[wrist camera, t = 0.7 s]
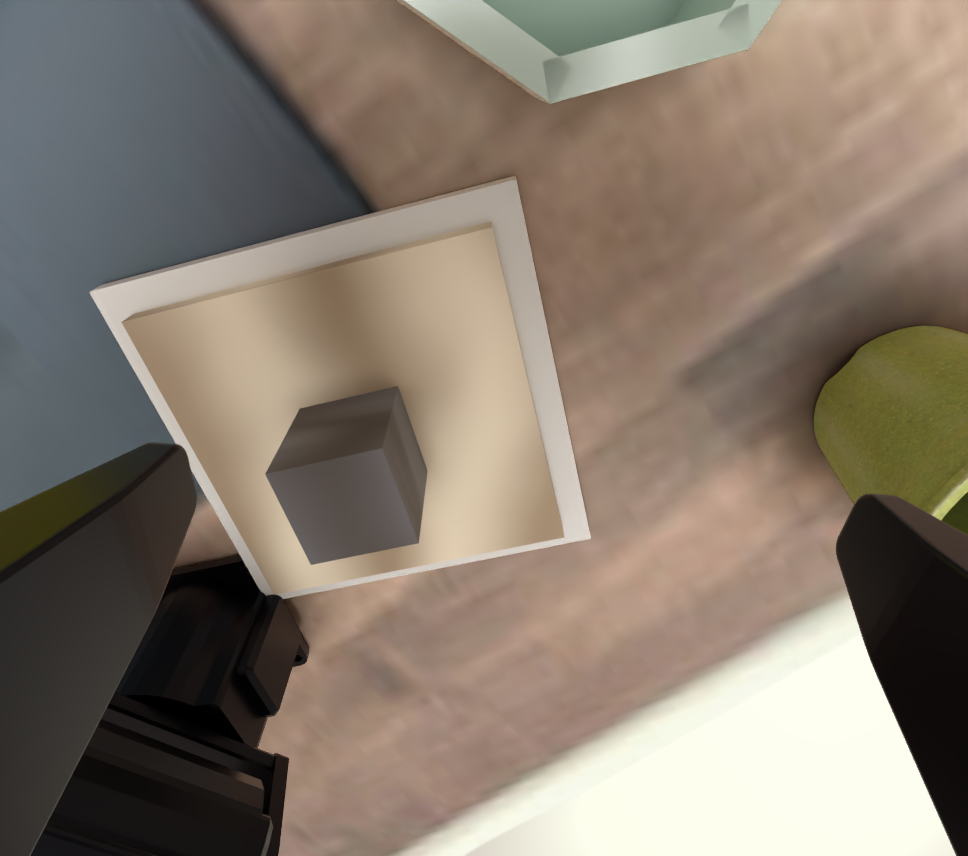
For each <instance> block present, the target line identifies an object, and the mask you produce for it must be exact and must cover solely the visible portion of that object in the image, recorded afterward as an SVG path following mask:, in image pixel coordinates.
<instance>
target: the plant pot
mask: <svg viewBox="0 0 968 856" xmlns="http://www.w3.org/2000/svg"><path fill="white" fill-rule="evenodd" d="M814 432H815V437H816V440H817V443H818V445H819V447H820V449H821V451H822V452H823V454H824V455H825V457H826V459H827V461H828V462H829V464H830V466H831V467H832V469H833V470H834V472H835V474H836V475H837V477H838V479H839V480H840V482H841V484H842V485H843V487H844V489H845V490H846V492H847V493H848V495H849V497H850V498H851V500H852V502H853V503H854V504H855V502H856V501H857V499H858V498H859V497H861V496H862V495H864V494H883V495H894V496H898V497H900V498H902V499H904V500H906V501H907V502H909V503H911V504H913V505H914V506H916V507H918V508H920V509H922V510H923V511H925V512H927V513H929V514H930V515H932V516H934V517H936V518H938V519H939V520H941V521H943V522H945V523H946V524H948V525H950V526H952V527H954V528H955V529H957V530H959V531H961V532H963V533H964V534H966V535H968V334H966V333H963V332H960V331H956V330H953V329H949V328H944V327H940V326H914V327H907V328H903V329H899V330H896V331H892V332H889V333H887V334H885V335H882V336H880V337H878V338H876V339H874V340H872V341H870V342H868V343H866V344H865V345H863V346H862V347H860V348H859V349H858V350H857V352H856V353H855V354H854V356H853V357H852V358H851V360H850V361H849V362H848V363H847V364H846V365H845V366H844V367H843V368H842V369H841V370H840V371H839V372H838V373H837V374H836V375H834V376H833V377H832V378H831V379H829V380H828V381H827V382H826V383H825V385H824V387H823V389H822V391H821V393H820V395H819V397H818V400H817V403H816V407H815V412H814Z"/></svg>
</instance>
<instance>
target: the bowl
mask: <svg viewBox="0 0 968 856" xmlns="http://www.w3.org/2000/svg"><path fill="white" fill-rule="evenodd" d="M396 1H397V2H398V3H400V4H402V5H404V6H405V7H406V8H408V9H409V10H411V11H412V12H414V13H415V14H416V15H418V16H419V17H421V18H422V19H424V20H425V21H426V22H428V23H429V24H431V25H432V26H434V27H435V28H436V29H438V30H439V31H441V32H442V33H444V34H445V35H446V36H448V37H449V38H451V39H452V40H454V41H455V42H456V43H458V44H459V45H461V46H462V47H463V48H465V49H466V50H467V51H468V52H470V53H471V54H473V55H475V56H476V57H478V58H479V59H481V60H482V61H484V62H485V63H486V64H488V65H489V66H491V67H492V68H494V69H495V70H496V71H498V72H499V73H501V74H502V75H504V76H505V77H506V78H508V79H509V80H511V81H512V82H514V83H515V84H516V85H518V86H519V87H521V88H522V89H524V90H525V91H526V92H528V93H529V94H531V95H532V96H533V97H534V98H537V99H539V100H541V101H544V102H546V103H549V104H553V103H555V102H559V101H562V100H566V99H569V98H573V97H577V96H580V95H584V94H588V93H591V92H595V91H598V90H602V89H606V88H609V87H613V86H617V85H620V84H624V83H628V82H631V81H635V80H638V79H642V78H646V77H649V76H653V75H657V74H660V73H664V72H668V71H671V70H675V69H678V68H682V67H686V66H689V65H693V64H697V63H700V62H704V61H707V60H711V59H715V58H718V57H722V56H726V55H729V54H733V53H737V52H740V51H748V49H750V46H751V45H752V43H753V42H754V41H755V39H756V38H757V36H758V35H759V33H760V32H761V30H762V29H763V28H764V26H765V25H766V23H767V22H768V20H769V19H770V17H771V16H772V15H773V13H774V12H775V10H776V9H777V7H778V6H779V4H780V3H781V2H782V0H396Z"/></svg>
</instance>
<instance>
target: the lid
mask: <svg viewBox="0 0 968 856" xmlns="http://www.w3.org/2000/svg"><path fill="white" fill-rule="evenodd" d="M121 323H122V324H123V326H124V328H125V330H126V331H127V333H128V335H129V337H130V339H131V340H132V342H133V344H134V346H135V347H136V349H137V351H138V353H139V355H140V356H141V358H142V360H143V362H144V364H145V365H146V367H147V369H148V371H149V372H150V374H151V376H152V378H153V380H154V381H155V383H156V385H157V387H158V389H159V390H160V392H161V394H162V396H163V397H164V399H165V401H166V403H167V405H168V406H169V408H170V410H171V412H172V413H173V415H174V417H175V419H176V421H177V422H178V424H179V426H180V428H181V430H182V431H183V433H184V435H185V437H186V438H187V440H188V442H189V444H190V446H191V447H192V449H193V451H194V453H195V455H196V456H197V458H198V460H199V462H200V463H201V465H202V467H203V469H204V471H205V472H206V474H207V476H208V478H209V479H210V481H211V483H212V485H213V487H214V488H215V490H216V492H217V494H218V496H219V497H220V499H221V501H222V503H223V504H224V506H225V508H226V510H227V512H228V513H229V515H230V517H231V519H232V521H233V522H234V524H235V526H236V528H237V529H238V531H239V533H240V535H241V537H242V538H243V540H244V542H245V544H246V545H247V547H248V549H249V551H250V553H251V554H252V556H253V558H254V560H255V562H256V563H257V565H258V567H259V569H260V570H261V572H262V574H263V576H264V578H265V579H266V581H267V583H268V585H269V587H270V588H271V590H272V592H273V594H274V595H276V594H281V593H286V592H291V591H296V590H301V589H306V588H311V587H316V586H321V585H327V584H332V583H337V582H342V581H347V580H352V579H357V578H362V577H367V576H372V575H377V574H382V573H387V572H392V571H397V570H402V569H407V568H412V567H417V566H422V565H428V564H433V563H438V562H443V561H448V560H453V559H458V558H463V557H468V556H473V555H478V554H483V553H488V552H493V551H498V550H503V549H508V548H513V547H518V546H524V545H529V544H534V543H539V542H544V541H549V540H554V539H559V538H564V532H563V527H562V522H561V518H560V513H559V509H558V505H557V500H556V496H555V492H554V488H553V483H552V479H551V475H550V471H549V466H548V462H547V458H546V453H545V449H544V445H543V441H542V436H541V432H540V428H539V423H538V419H537V415H536V411H535V406H534V402H533V398H532V394H531V389H530V385H529V381H528V376H527V372H526V368H525V364H524V359H523V355H522V351H521V346H520V342H519V338H518V334H517V329H516V325H515V321H514V316H513V312H512V308H511V304H510V299H509V295H508V291H507V287H506V282H505V278H504V274H503V269H502V265H501V261H500V257H499V252H498V248H497V244H496V239H495V235H494V231H493V227H492V222H488V223H484V224H480V225H477V226H473V227H469V228H465V229H461V230H457V231H453V232H449V233H445V234H442V235H438V236H434V237H430V238H426V239H422V240H418V241H414V242H410V243H407V244H403V245H399V246H395V247H391V248H387V249H383V250H379V251H375V252H371V253H368V254H364V255H360V256H356V257H352V258H348V259H344V260H340V261H336V262H333V263H329V264H325V265H321V266H317V267H313V268H309V269H305V270H301V271H298V272H294V273H290V274H286V275H282V276H278V277H274V278H270V279H266V280H263V281H259V282H255V283H251V284H247V285H243V286H239V287H235V288H231V289H228V290H224V291H220V292H216V293H212V294H208V295H204V296H200V297H196V298H193V299H189V300H185V301H181V302H177V303H173V304H169V305H165V306H161V307H158V308H154V309H150V310H146V311H142V312H138V313H134V314H132V315H131V316H129V317H128V318H127V319H125V320H124V321H122V322H121Z"/></svg>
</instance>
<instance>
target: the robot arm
mask: <svg viewBox="0 0 968 856" xmlns="http://www.w3.org/2000/svg"><path fill="white" fill-rule="evenodd" d="M196 500H197V498H196V490H195V485H194V481H193V477H192V472H191V468H190V464H189V459H188V455H187V453H186V450H185V449H184V448H183V447H182V446H181V445H179V444H170V443H156V442H152V443H147V444H145V445H143V446H140V447H138V448H136V449H134V450H132V451H130V452H128V453H125V454H123V455H121V456H119V457H117V458H115V459H113V460H111V461H108V462H106V463H104V464H102V465H100V466H98V467H96V468H93V469H91V470H89V471H87V472H85V473H83V474H81V475H78V476H76V477H74V478H72V479H70V480H68V481H66V482H63V483H61V484H59V485H57V486H55V487H53V488H51V489H49V490H46V491H44V492H42V493H40V494H38V495H36V496H34V497H31V498H29V499H27V500H25V501H23V502H21V503H19V504H16V505H14V506H12V507H10V508H8V509H6V510H4V511H1V512H0V856H278V853H279V846H280V837H281V827H282V818H283V809H284V800H285V790H286V781H287V772H288V763H289V758H288V757H285V756H283V755H280V754H278V753H275V754H274V755H273V754H270V753H268V752H265V751H263V750H260V749H258V746H259V742H260V739H261V736H262V733H263V730H264V727H265V724H266V721H267V718H268V717H271V716H275V715H276V713H277V712H278V710H279V708H280V705H281V702H282V699H283V695H284V692H285V689H286V686H287V683H288V679H289V676H290V673H291V670H292V667H294V666H299V665H303V664H305V663H306V662H307V658H308V655H309V649H308V647H307V645H306V644H305V642H304V640H303V638H302V633H301V631H300V629H299V628H298V626H297V624H296V622H295V620H294V619H293V617H292V615H291V613H290V611H289V610H288V608H287V606H286V604H285V602H284V601H283V599H282V597H281V596H279V595H274V594H272V595H267V596H266V595H265V594H264V593H263V592H261V591H260V589H259V588H258V586H257V584H256V582H255V581H254V579H253V577H252V575H251V574H250V572H249V570H248V568H246V567H245V566H246V565H245V563H244V561H243V560H242V558H241V556H236V557H231V558H226V559H221V560H216V561H211V562H207V563H202V564H197V565H192V566H187V567H182V568H178V569H173V567H174V564H175V562H176V559H177V556H178V554H179V551H180V549H181V546H182V543H183V541H184V538H185V535H186V533H187V530H188V527H189V525H190V522H191V520H192V517H193V514H194V511H195V508H196ZM836 555H837V559H838V562H839V565H840V568H841V572H842V575H843V578H844V581H845V584H846V587H847V590H848V593H849V597H850V600H851V603H852V606H853V609H854V612H855V615H856V618H857V622H858V625H859V628H860V631H861V634H862V637H863V640H864V643H865V646H866V649H867V652H868V655H869V657H870V660H871V662H872V665H873V667H874V670H875V672H876V675H877V677H878V679H879V681H880V684H881V686H882V688H883V691H884V693H885V695H886V697H887V700H888V702H889V704H890V706H891V708H892V711H893V713H894V716H895V718H896V720H897V722H898V725H899V727H900V729H901V731H902V734H903V736H904V738H905V741H906V743H907V745H908V747H909V750H910V752H911V754H912V756H913V759H914V761H915V763H916V765H917V768H918V770H919V772H920V775H921V777H922V779H923V781H924V784H925V786H926V788H927V790H928V792H929V795H930V797H931V799H932V802H933V804H934V806H935V809H936V811H937V813H938V815H939V818H940V820H941V822H942V824H943V827H944V829H945V831H946V833H947V836H948V838H949V840H950V843H951V845H952V847H953V849H954V852H955V854H956V856H968V535H966V534H964V533H963V532H961V531H959V530H957V529H955V528H954V527H952V526H950V525H948V524H946V523H945V522H943V521H941V520H939V519H938V518H936V517H934V516H932V515H930V514H929V513H927V512H925V511H923V510H922V509H920V508H918V507H916V506H914V505H913V504H911V503H909V502H907V501H906V500H904V499H902V498H900V497H898V496H894V495H883V494H864V495H862V496H861V497H859V498H858V499H857V501H856V502H855V504H854V506H853V508H852V510H851V512H850V514H849V516H848V518H847V520H846V522H845V524H844V526H843V528H842V530H841V532H840V534H839V536H838V539H837V543H836ZM297 654H298V655H297Z"/></svg>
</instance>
